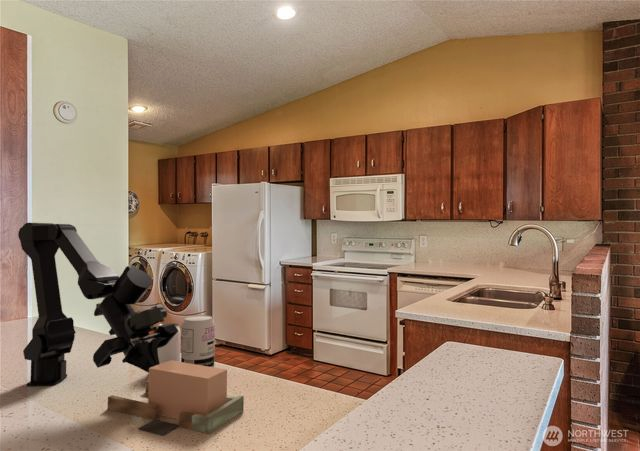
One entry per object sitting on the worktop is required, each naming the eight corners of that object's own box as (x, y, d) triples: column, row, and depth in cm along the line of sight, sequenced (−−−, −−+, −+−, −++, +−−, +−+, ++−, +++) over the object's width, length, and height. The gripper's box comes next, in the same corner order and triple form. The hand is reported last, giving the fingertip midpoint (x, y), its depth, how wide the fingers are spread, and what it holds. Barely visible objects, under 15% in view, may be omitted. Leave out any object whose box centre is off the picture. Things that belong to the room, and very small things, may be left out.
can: (171, 375, 107) (172, 328, 107) (149, 373, 108) (149, 327, 109) (184, 367, 113) (185, 323, 114) (163, 365, 115) (163, 322, 115)
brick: (147, 412, 85) (148, 368, 85) (169, 402, 90) (170, 360, 90) (207, 426, 79) (208, 378, 79) (226, 414, 84) (227, 369, 84)
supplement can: (185, 372, 110) (185, 315, 110) (216, 371, 110) (217, 314, 111) (177, 382, 101) (178, 321, 102) (211, 382, 102) (212, 321, 103)
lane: (90, 416, 82) (90, 401, 82) (161, 385, 100) (162, 372, 100) (194, 443, 72) (194, 426, 72) (254, 403, 89) (254, 389, 89)
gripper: (104, 299, 82) (145, 363, 77) (172, 289, 99) (209, 340, 94) (76, 335, 85) (113, 399, 80) (147, 319, 102) (181, 371, 97)
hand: (158, 374), depth 88 cm, fingers closed
